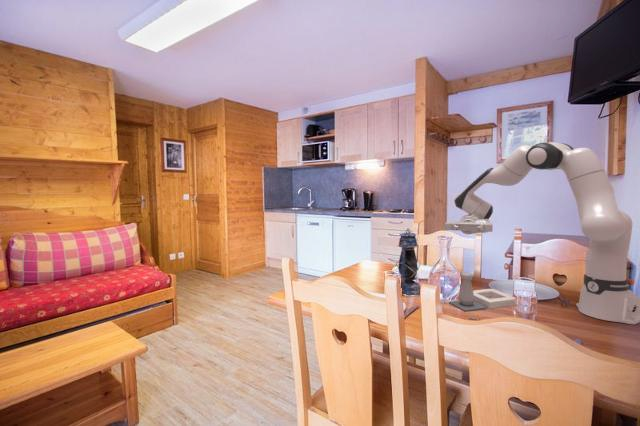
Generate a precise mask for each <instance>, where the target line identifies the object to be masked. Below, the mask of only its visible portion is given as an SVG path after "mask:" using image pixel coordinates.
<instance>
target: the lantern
mask: <svg viewBox="0 0 640 426" xmlns="http://www.w3.org/2000/svg"><path fill="white" fill-rule="evenodd" d="M399 236H400V238H399V241H398V247H400V248H401V251H400V255H399V260H398V261H397V262H396V263H395V265H396V267H397V269H398V273H399V275H400V281H401V288H402V295H401V296H403V294H406V295H418V296H421V295H420V289H421V285H420V283H418V282H416V279H417V278H416V277H417V275H418V270H419V268H420V266H421V262H420V260H418V259H417V255H416V251H415V248H418V247H419V245H418V239H417V238H416V236H417V234H416V233H415V232H411V231H410V228H406V231H405V232H401V233H399ZM418 262H419V264H418Z"/></svg>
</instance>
